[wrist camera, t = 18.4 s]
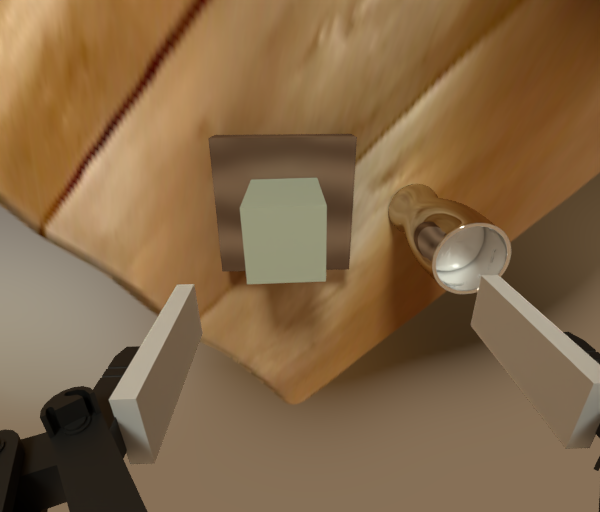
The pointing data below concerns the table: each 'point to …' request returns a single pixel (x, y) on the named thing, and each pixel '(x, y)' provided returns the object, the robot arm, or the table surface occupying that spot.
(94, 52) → the table surface
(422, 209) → the beer glass
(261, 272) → the sage block
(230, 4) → the table surface
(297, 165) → the walnut block
